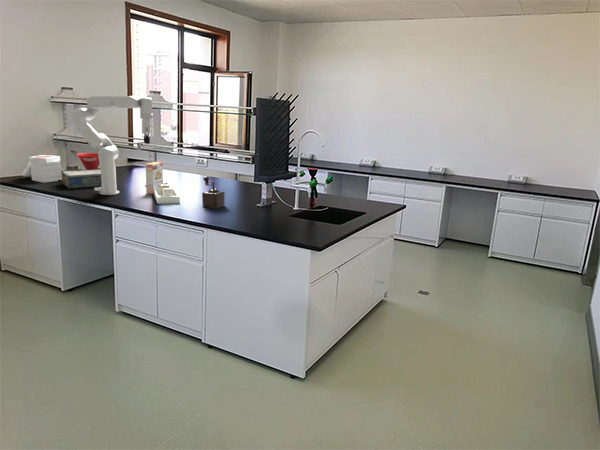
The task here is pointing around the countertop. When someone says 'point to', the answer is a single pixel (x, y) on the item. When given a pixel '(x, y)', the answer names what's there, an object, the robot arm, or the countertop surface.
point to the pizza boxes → (44, 168)
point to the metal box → (82, 178)
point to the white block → (167, 192)
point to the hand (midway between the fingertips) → (146, 142)
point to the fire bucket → (89, 160)
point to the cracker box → (154, 176)
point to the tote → (166, 199)
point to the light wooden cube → (164, 187)
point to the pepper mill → (213, 197)
